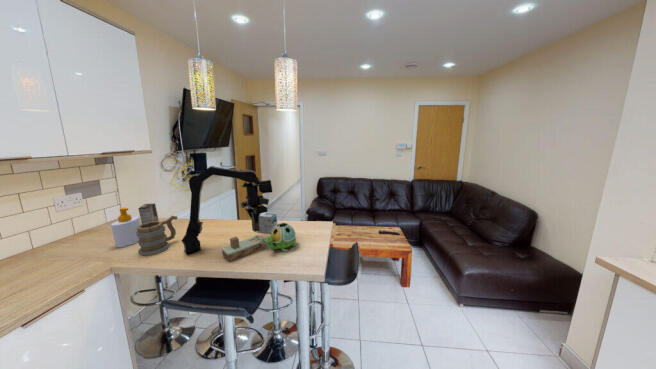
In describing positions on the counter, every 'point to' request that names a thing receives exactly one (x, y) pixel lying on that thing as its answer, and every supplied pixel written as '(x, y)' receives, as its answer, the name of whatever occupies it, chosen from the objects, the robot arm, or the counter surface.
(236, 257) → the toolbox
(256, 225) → the key peg
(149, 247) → the tankard
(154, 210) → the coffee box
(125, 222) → the soap bottle
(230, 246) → the lid
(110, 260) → the counter surface
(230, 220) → the counter surface
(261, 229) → the light bulb box
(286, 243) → the turtle holder
